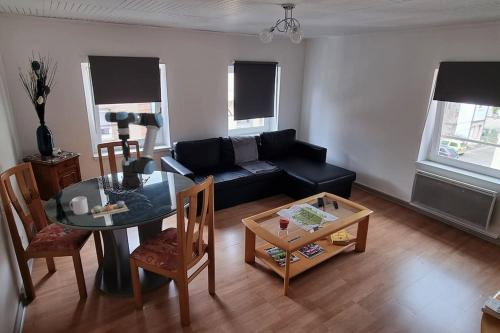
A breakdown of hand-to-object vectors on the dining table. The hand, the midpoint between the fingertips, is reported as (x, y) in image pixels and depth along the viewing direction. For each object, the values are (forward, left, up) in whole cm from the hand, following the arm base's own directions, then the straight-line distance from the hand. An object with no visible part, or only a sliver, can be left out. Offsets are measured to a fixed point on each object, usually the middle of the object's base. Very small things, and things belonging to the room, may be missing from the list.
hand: (127, 164), depth 229 cm
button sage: (+17, -26, -25) cm, 40 cm away
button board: (+17, -18, -26) cm, 36 cm away
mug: (+9, -36, -27) cm, 46 cm away
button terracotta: (+17, -18, -27) cm, 36 cm away
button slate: (+17, -11, -25) cm, 32 cm away
